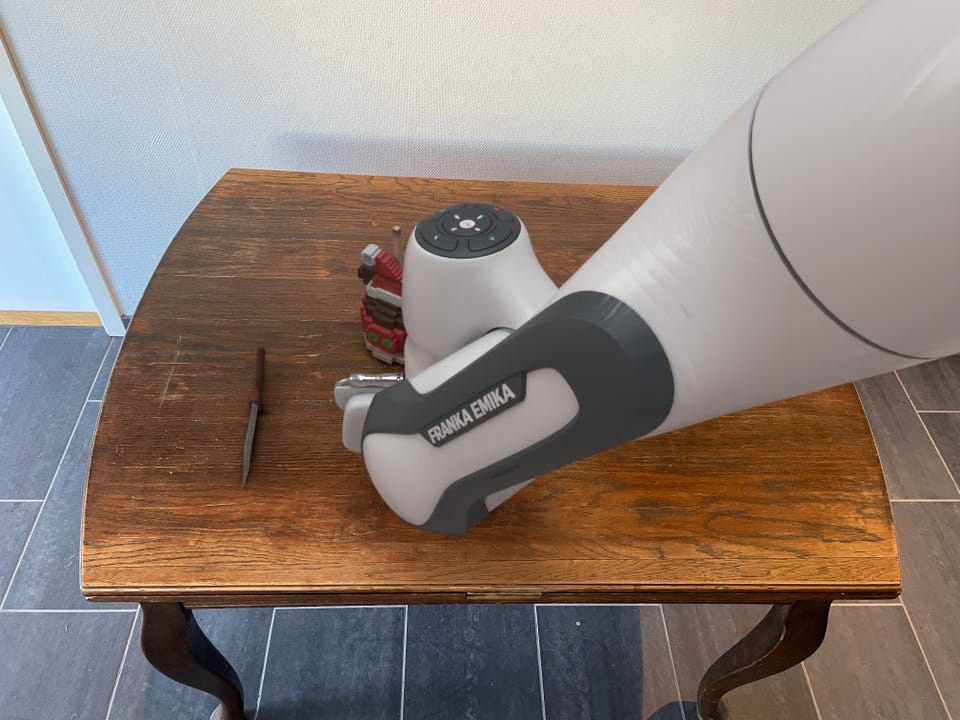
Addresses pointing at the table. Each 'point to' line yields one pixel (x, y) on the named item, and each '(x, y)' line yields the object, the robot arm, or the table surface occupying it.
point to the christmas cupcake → (383, 301)
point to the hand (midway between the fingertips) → (454, 464)
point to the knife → (254, 409)
